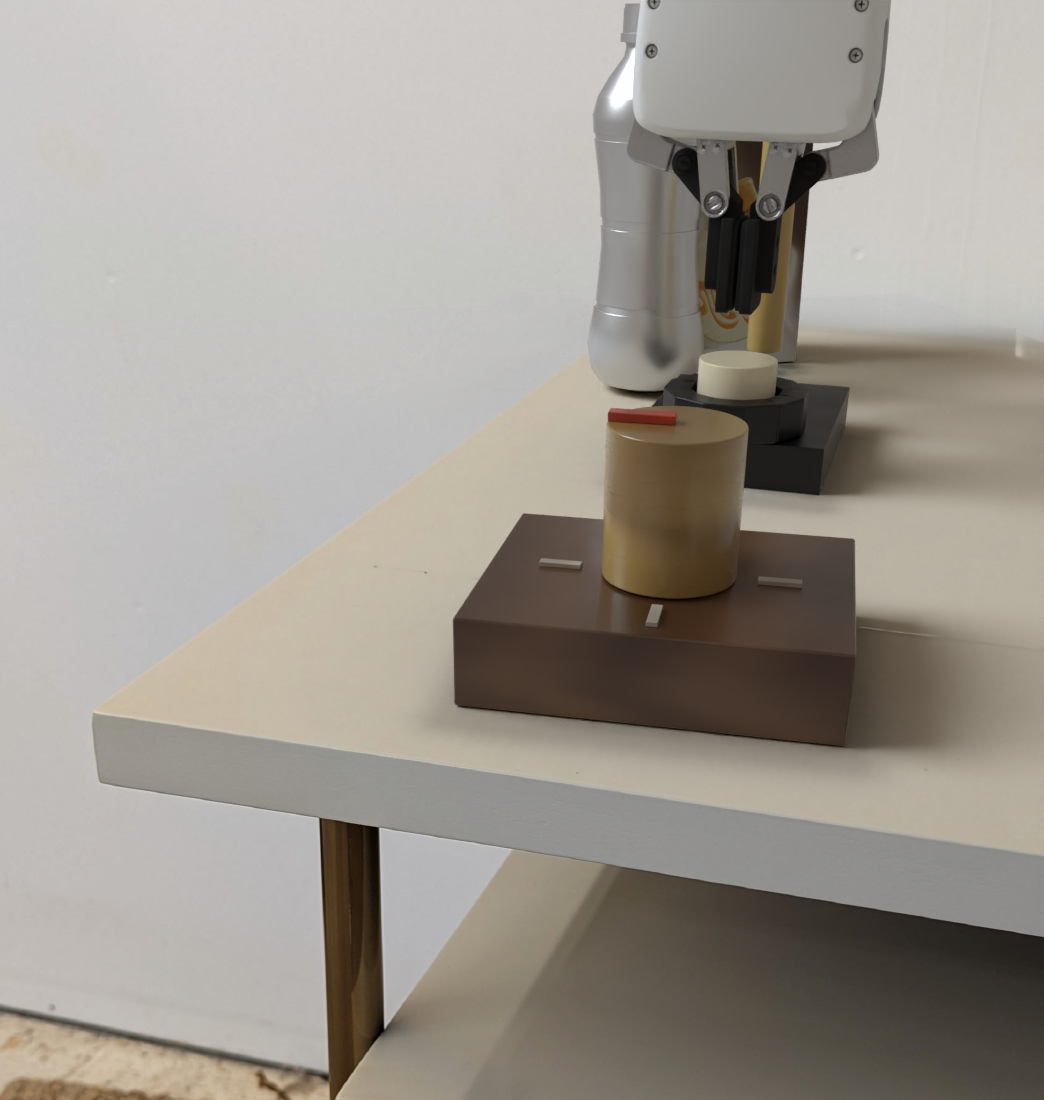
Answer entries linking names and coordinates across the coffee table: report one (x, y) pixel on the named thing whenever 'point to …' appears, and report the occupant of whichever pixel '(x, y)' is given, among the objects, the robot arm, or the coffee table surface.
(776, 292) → the lamp
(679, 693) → the dimmer panel
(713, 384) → the button
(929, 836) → the coffee table surface
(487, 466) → the coffee table surface
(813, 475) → the black button base
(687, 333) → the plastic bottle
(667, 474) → the dimmer knob
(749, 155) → the coffee box
